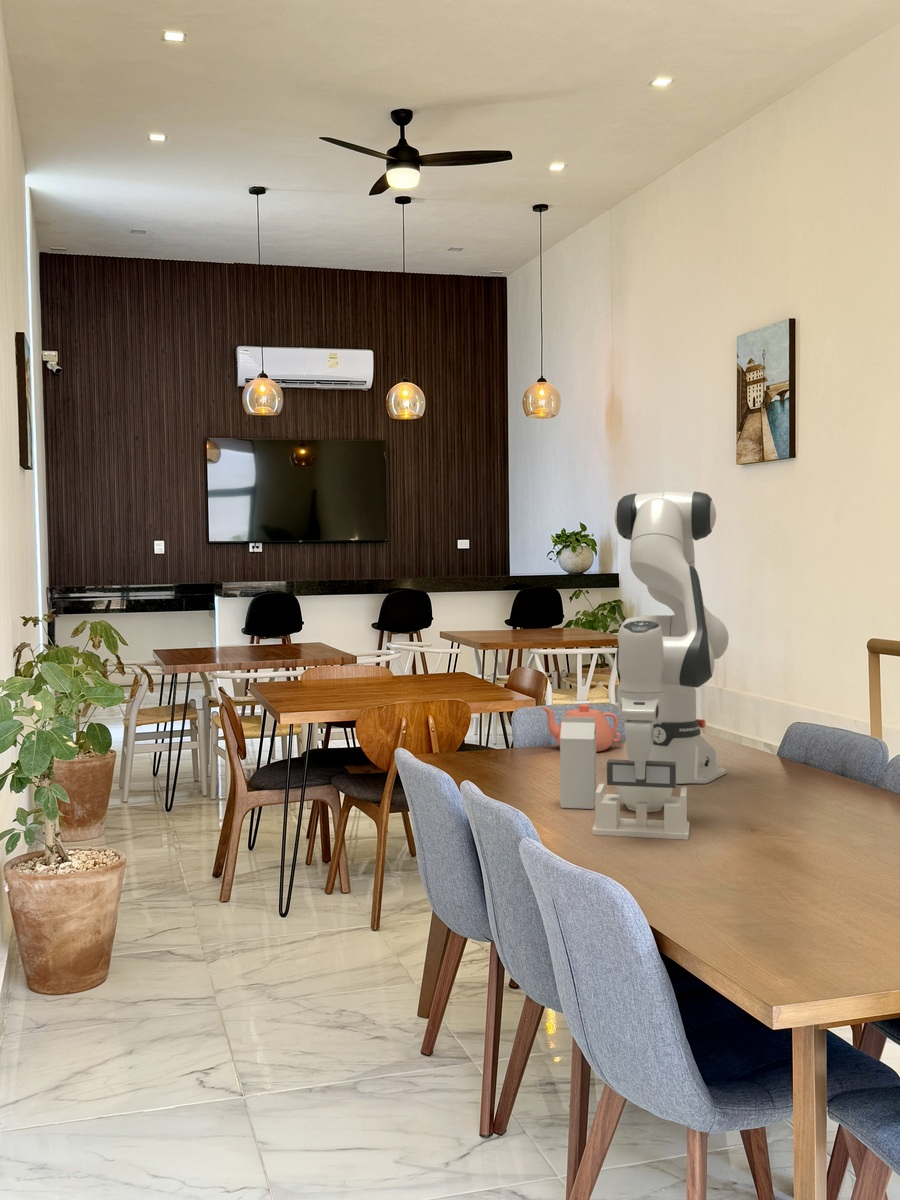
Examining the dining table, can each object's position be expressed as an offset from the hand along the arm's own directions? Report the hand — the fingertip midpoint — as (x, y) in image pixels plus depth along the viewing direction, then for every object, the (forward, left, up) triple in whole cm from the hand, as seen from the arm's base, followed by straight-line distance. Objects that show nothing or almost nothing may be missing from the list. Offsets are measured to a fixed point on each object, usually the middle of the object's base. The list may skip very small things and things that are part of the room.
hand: (641, 776), depth 210 cm
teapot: (-63, -62, -11) cm, 89 cm away
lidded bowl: (-16, -10, -11) cm, 22 cm away
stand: (0, 0, -11) cm, 11 cm away
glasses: (0, 0, -2) cm, 2 cm away
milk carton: (-9, -22, -11) cm, 26 cm away
